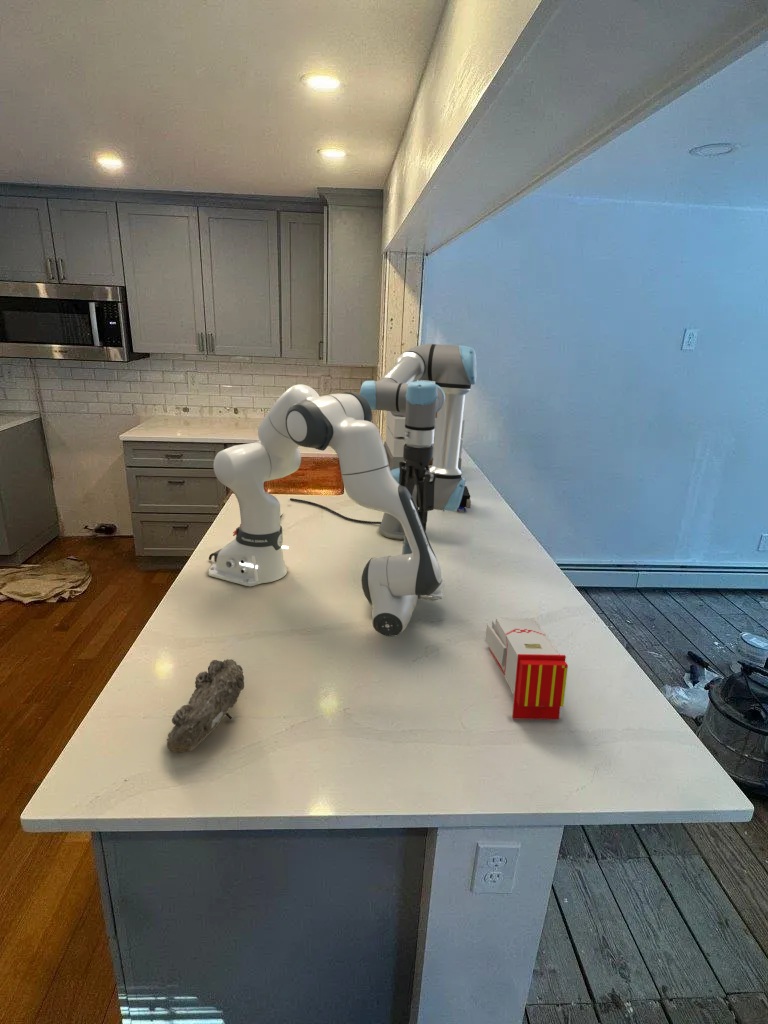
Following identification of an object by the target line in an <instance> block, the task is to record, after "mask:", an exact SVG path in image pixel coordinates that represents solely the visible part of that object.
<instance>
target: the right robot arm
mask: <svg viewBox="0 0 768 1024" xmlns="http://www.w3.org/2000/svg"><path fill="white" fill-rule="evenodd" d="M477 366H478V363H477V354H476V351H475V348H474V347H471V346H466V345H461V344H459V345H455V344H438V343H437V344H436V343H435V344H434V343H423V344H419V345H415V346H413V347H411V348H409V349H407V350H405V351H403V352H402V353H400V354H399V356H397V358H396V359H395V363H394V365H393V366H392V367H391V368H390V369H389V370H387V371H386V372H385V374H383V376H381V377H380V379H378V380H374V379H372V380H365V381H363V382H362V384H361V386H360V390H359V394H360V395H362V396H363V397H364V398H365V399H366V400H367V401H368V403H369V405H370V408H371V410H373V411H385V412H387V411H396V412H406V414H405V434H404V435H405V436H404V442H405V443H406V444H405V445H404V450H403V458H404V459H405V460H406V461H403V462H399V467H400V468H396V469H393V470H391V473H392V475H393V477H394V478H395V480H396V481H397V482H398V483H399V484H400V485H402V486H404V487H406V488H407V489H408V491H409V492H410V494H411V496H412V498H413V501H414V503H415V505H416V508H417V511H418V513H419V516H420V518H421V521H422V524H423V526H424V529H425V532H426V530H427V523H428V515H429V514H428V512H430V511H434V510H436V511H442V512H456V511H457V509H458V507H459V505H460V502H461V499H462V496H463V492H464V487H465V486H466V478H464V477H462V475H463V474H462V470H461V471H460V470H459V468H458V460H459V450H460V441H461V440H462V438H461V431H462V421H463V419H464V412H465V411H464V410H465V401H466V395H467V394H468V393H469V392H470V391H471V389H472V386H473V385H476V383H477V375H478V367H477ZM436 412H437V420H436V430H435V415H436ZM434 431H435V441H434ZM433 443H434V452H433V446H432V444H433ZM432 458H433V463H432V465H430V466H429V462H430V461H431V460H432ZM289 500H290V501H293V502H299V503H305V504H309V505H314V506H317V507H319V508H321V509H324V510H326V511H328V512H330V513H333V514H334V515H336V516H338V517H340V518H342V519H344V520H347V521H351V522H355V523H360V524H361V523H362V524H369V525H378V533H379V534H380V535H381V536H382V537H385V538H387V539H389V540H395V541H404V537H405V536H406V534H405V532H404V529H403V527H402V524H401V523H400V521H399V520H398V519H397V518H395V517H394V516H392V515H390V514H387V513H384V512H383V515H382V519H381V521H372V520H362V519H355V518H352V517H351V518H350V517H349V516H348V517H347V516H346V515H343V514H341V513H339V512H337V511H335V510H333V509H331V508H330V507H327V506H325V505H322V504H320V503H318V502H317V503H316V502H313V501H310V500H309V501H308V500H305V499H300V498H293V497H290V498H289ZM426 533H427V532H426Z"/></svg>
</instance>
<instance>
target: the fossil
mask: <svg viewBox="0 0 768 1024" xmlns="http://www.w3.org/2000/svg"><path fill="white" fill-rule="evenodd" d="M243 670H244V669H243V667H242V665H240V664H237V662H236V661H235V660H234V659H232V658H231V659H227V658H226V659H224V660H223V661H222V660H217V659H212V660H211V661H210V663H209V665H208V666H207V671H201V672H199V673H198V674H197V675H196V676H195V680H194V684H195V685H194V687H195V689H194V690H193V693H192V694H191V697H190V698H189V700H188V704H184V705H182V706H181V707H180V709H177V710H176V711H175V713H174V715H173V716H172V718H171V723H172V724H173V727H172V730H171V731H170V732H168V734H167V738H166V741H167V742H166V745H167V749H168V750H169V751H173V752H174V753H176V754H178V753H182V752H188V751H189V752H192V751H193V750H195V748H196V747H197V746H199V744H200V743H201V742H203V741H204V740H205V739H206V738H207V737H208V736H209V735H210V734H211V733H212V732H214V730H215V729H217V727H218V726H219V724H220V722H221V721H222V720H223V719H224V718H225V716H226V717H227V719H229V720H233V717H232V715H230V714H229V710H230V709H231V708H234V706H235V704H236V703H237V702H238V699H239V697H240V695H241V693H242V691H243V690H245V689H244V688H245V675H244V671H243Z"/></svg>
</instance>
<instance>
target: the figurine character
mask: <svg viewBox="0 0 768 1024" xmlns="http://www.w3.org/2000/svg"><path fill="white" fill-rule="evenodd" d="M471 501H472V500H471V494H470V491H469V488H468V486H467V485H465V487H464V492H463V496H462V499H461V502H460V505H459V507H458V509H457V510H456V511H457V512H460V510H463V511H464V513H466V512H467V509H470V508H471V505H472V504H471ZM466 508H467V509H466Z"/></svg>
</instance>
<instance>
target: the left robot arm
mask: <svg viewBox="0 0 768 1024" xmlns="http://www.w3.org/2000/svg"><path fill="white" fill-rule="evenodd" d="M372 417H373V414H372V409H371V408H370V405H369V403H368V401H367V400H366V399H365V398H364V397H363V396H362V395H360V393H356V392H349V391H348V392H347V391H344V392H340V393H330V394H324V395H319V393H318V392H317V391H316V390H315V389H314V388H313V387H311V386H310V385H306V384H303V383H299V384H294V385H292V386H290V387H289V388H288V389H286V391H285V392H283V393H282V394H281V395H280V396H279V397H278V398H277V399H276V401H275V402H274V403H273V404H272V405H271V407H270V409H269V410H268V412H267V413H266V415H265V416H264V418H263V419H262V420H261V422H260V423H259V425H258V427H257V428H258V429H257V435H258V440H257V441H255V442H250V443H249V442H248V443H243V444H236V445H232V446H230V447H227V448H225V449H222V450H220V451H218V452H217V453H216V455H215V456H214V460H213V464H212V465H213V466H212V467H213V473H214V475H215V477H216V479H217V480H218V481H219V482H220V484H222V485H223V486H225V487H226V488H228V489H230V491H231V492H232V493H233V494H234V496H235V498H236V500H237V502H238V507H239V516H240V524H239V526H237V528H236V529H235V530H234V531H233V532H232V536H233V537H235V538H234V539H232V540H231V541H230V542H228V543H227V544H226V545H224V546H223V547H222V548H220V549H218V550H216V551H214V552H212V553H210V554H209V556H208V560H209V561H212V560H213V561H214V562H213V563H212V564H211V566H210V567H209V569H208V576H209V577H212V578H216V579H219V580H223V581H227V582H231V583H235V584H238V585H242V586H246V587H255V586H258V585H262V584H267V583H272V582H276V581H278V580H280V579H282V578H284V577H285V576H286V575H287V573H288V568H287V566H286V563H285V559H284V552H283V549H285V550H289V546H288V545H283V543H284V535H283V526H282V525H281V519H280V516H281V503H280V501H279V500H278V498H277V496H276V495H273V494H271V493H269V492H266V490H265V485H264V484H265V482H269V481H274V480H279V479H282V478H285V477H287V476H289V475H291V474H293V473H295V472H297V471H298V470H299V468H300V467H301V462H302V454H301V450H300V448H299V447H303V448H308V449H309V448H310V449H315V450H318V451H321V452H322V451H325V450H326V449H327V448H328V447H329V448H331V449H332V450H333V451H334V452H335V453H336V455H337V458H338V462H339V469H340V473H341V479H342V484H343V487H344V490H345V492H346V494H347V497H348V498H349V499H350V500H351V501H352V502H354V503H355V504H356V505H358V506H360V507H362V508H365V509H368V510H372V511H377V512H380V513H383V514H384V513H387V514H390V515H392V516H394V517H395V518H397V519H398V520H399V521H400V523H401V524H402V527H403V529H404V532H405V534H406V537H407V540H408V542H409V545H410V548H411V550H412V553H411V554H404V555H402V554H397V555H384V556H377V557H372V558H369V560H368V561H367V562H366V564H365V566H364V568H363V570H362V574H361V588H362V591H363V594H364V597H365V599H366V600H367V602H369V604H370V605H371V606H372V612H371V613H372V614H371V624H372V627H373V629H374V631H376V632H377V633H378V634H380V635H382V636H385V637H396V636H398V635H401V633H403V632H404V631H405V630H406V628H407V627H408V625H409V623H410V621H411V619H412V617H413V612H414V610H415V607H416V606H417V602H418V600H423V601H430V602H436V601H439V600H442V598H443V597H444V592H445V583H446V582H445V580H444V579H443V578H442V576H443V575H442V573H443V572H442V568H441V566H440V562H439V561H438V558H437V556H436V554H435V552H434V550H433V548H432V547H433V546H432V545H431V542H430V540H429V538H428V535H427V532H425V529H424V526H423V524H422V521H421V518H420V516H419V513H418V511H417V508H416V505H415V503H414V501H413V498H412V496H411V494H410V492H409V491H408V489H407V488H406V487H404V486H402V485H400V484H399V483H398V482H397V481H396V480H395V478H394V477H393V475H392V473H391V471H390V467H389V463H388V458H387V454H386V450H385V447H384V441H383V439H382V435H381V434H380V430H379V427H378V426H377V425H376V424H375V423H373V422H372ZM212 558H213V559H212Z"/></svg>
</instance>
